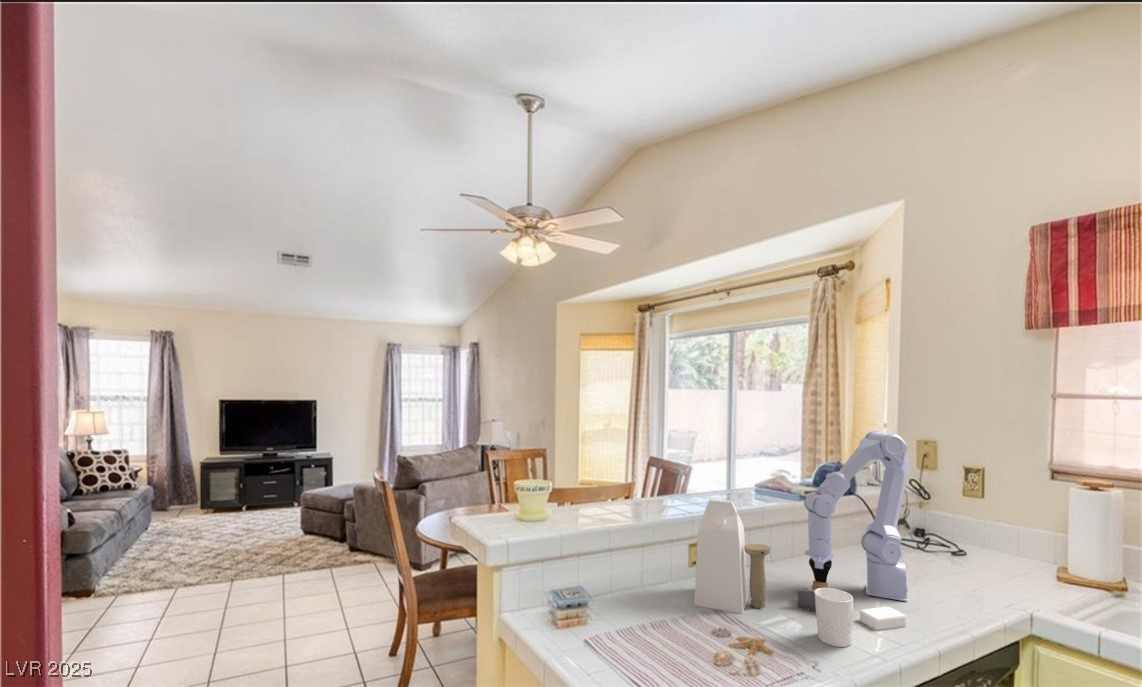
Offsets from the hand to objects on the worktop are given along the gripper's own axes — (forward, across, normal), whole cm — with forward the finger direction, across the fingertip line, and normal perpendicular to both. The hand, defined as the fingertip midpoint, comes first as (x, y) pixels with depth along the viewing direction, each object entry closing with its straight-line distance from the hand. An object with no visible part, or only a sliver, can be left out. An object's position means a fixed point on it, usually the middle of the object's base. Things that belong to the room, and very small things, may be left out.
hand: (820, 587), depth 145 cm
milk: (+2, +19, -23) cm, 30 cm away
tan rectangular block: (+2, +6, 0) cm, 7 cm away
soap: (+2, +13, +14) cm, 19 cm away
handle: (+2, +18, -14) cm, 23 cm away
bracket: (+1, +10, 0) cm, 10 cm away
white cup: (+2, +28, +4) cm, 28 cm away
